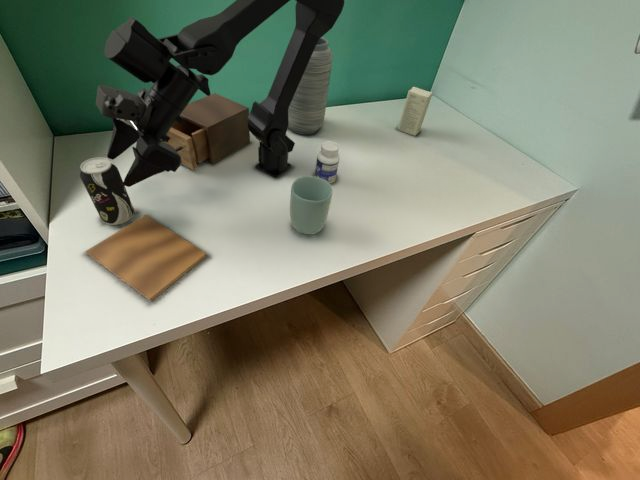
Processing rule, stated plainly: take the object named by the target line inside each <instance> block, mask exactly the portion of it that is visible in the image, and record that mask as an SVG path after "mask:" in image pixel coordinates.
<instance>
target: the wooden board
mask: <svg viewBox="0 0 640 480" xmlns="http://www.w3.org/2000/svg"><path fill="white" fill-rule="evenodd" d="M85 254H86V255H87V256H89V257H90V258H91V259H92V260H94V261H95V262H97V264H99V265H100V266H102V267H103V268H104V269H106V270H107V271H109V272H110V273H111V274H112V275H114V276H116V277H117V278H118V279H119V280H121V282H123V283H125V284H126V285H128V286H129V287H131V289H133V290H134V291H136V292H137V293H138V294H140V295H141V296H142V297H143V298H145V299H146V300H148V301H149V302H153V301H154V300H155V299H156V298H157V297H159V296H160V295H161V294H162V293H164V292H165V291H166V290H167V289H168V288H170V287H171V286H172V285H173V284H175V283H176V282H177V281H178V280H179V279H181V278H182V277H183V276H184V275H186V274H187V273H188V272H189V271H191V270H193V268H194V267H195V266H197V265H198V264H199V263H200V262H202V261H203V260H204V259H205V258H206V257H208V254H207V253H206V251H203V250H202V249H201V248H198V247H197V246H196V245H194V244H192V243H191V242H189V241H188V240H186V239H184V238H183V237H181V236H180V235H178V234H177V233H175V232H173V231H172V230H170V229H168V228H167V227H165V225H162V224H161V223H159V222H157V221H156V220H155V219H153V218H152V217H150V216H148V215H146V214H144V215H143V216H141V217H140V218H138V219H136V220H135V221H133V222H131V223H130V224H128V225H126V226H124V227H123V228H121V229H119V230H118V231H117V232H115V233H113V234H112V235H110V236H108V237H107V238H105V239H104V240H102V241H100V242H99V243H97V244H95V245H93V246H92V247H90V248H89V249H87V250H85Z"/></svg>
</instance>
